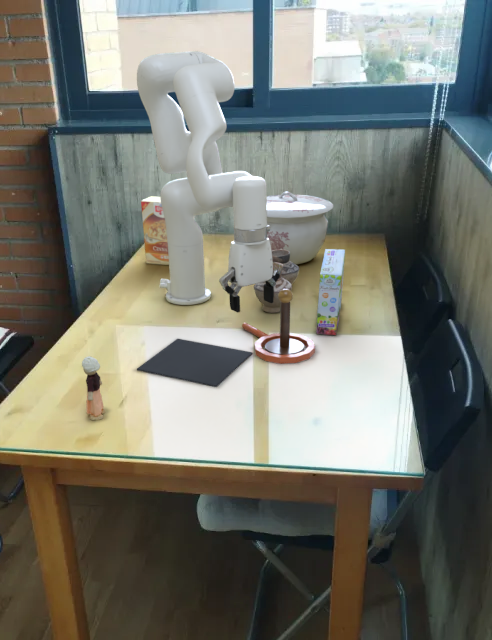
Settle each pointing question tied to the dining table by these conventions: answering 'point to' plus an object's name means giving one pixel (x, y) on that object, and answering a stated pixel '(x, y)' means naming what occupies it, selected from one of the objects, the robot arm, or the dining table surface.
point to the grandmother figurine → (93, 389)
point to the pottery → (284, 281)
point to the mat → (195, 362)
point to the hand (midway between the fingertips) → (252, 306)
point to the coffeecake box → (154, 231)
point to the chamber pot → (297, 224)
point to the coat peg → (284, 329)
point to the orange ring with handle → (276, 357)
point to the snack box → (330, 291)
